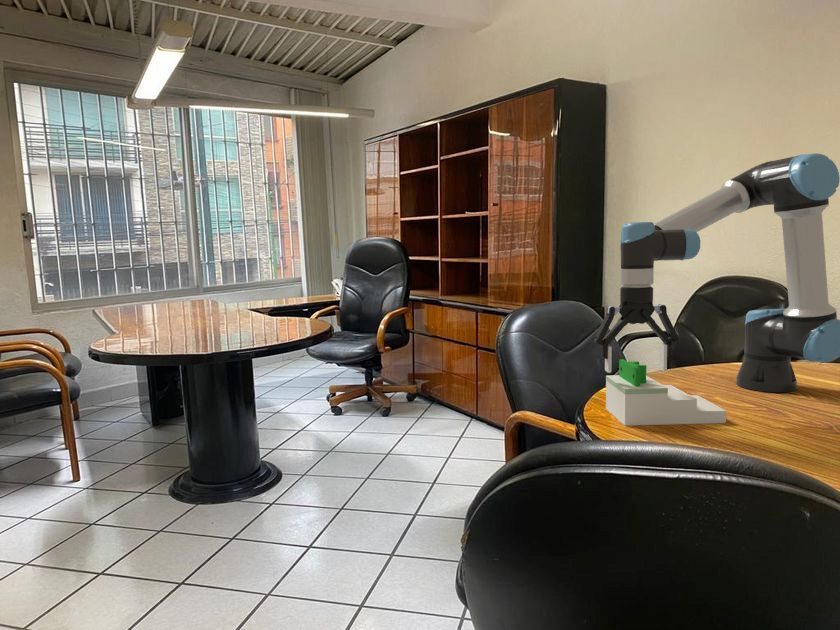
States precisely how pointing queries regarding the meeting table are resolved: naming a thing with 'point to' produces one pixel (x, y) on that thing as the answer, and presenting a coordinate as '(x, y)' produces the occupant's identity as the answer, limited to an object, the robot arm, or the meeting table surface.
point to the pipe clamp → (632, 372)
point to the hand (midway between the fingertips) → (635, 370)
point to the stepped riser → (657, 404)
